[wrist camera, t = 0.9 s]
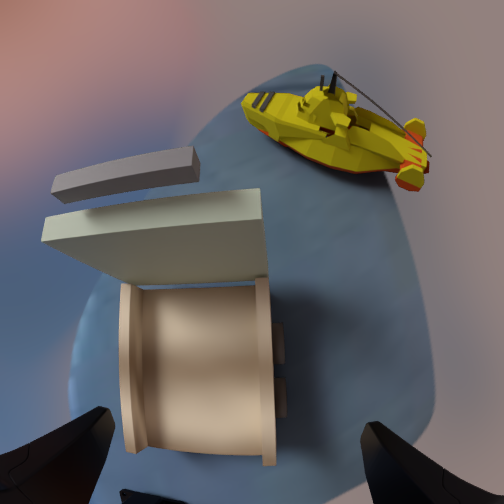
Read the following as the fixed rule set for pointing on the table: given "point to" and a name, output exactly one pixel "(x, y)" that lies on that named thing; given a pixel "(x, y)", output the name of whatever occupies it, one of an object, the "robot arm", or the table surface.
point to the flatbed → (201, 370)
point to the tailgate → (159, 224)
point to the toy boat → (341, 132)
